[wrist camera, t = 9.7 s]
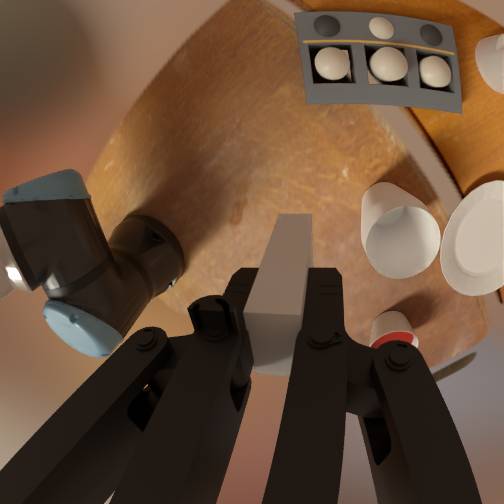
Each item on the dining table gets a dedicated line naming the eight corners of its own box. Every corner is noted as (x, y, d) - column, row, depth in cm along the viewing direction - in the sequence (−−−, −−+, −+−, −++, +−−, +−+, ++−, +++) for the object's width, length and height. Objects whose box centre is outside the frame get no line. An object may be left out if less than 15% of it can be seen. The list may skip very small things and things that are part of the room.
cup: (369, 162, 34) (389, 189, 24) (422, 190, 34) (455, 226, 24) (343, 218, 39) (349, 262, 29) (394, 241, 39) (413, 290, 29)
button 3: (414, 85, 27) (424, 84, 24) (411, 57, 25) (420, 53, 22) (440, 89, 26) (452, 89, 23) (438, 61, 24) (449, 58, 21)
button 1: (316, 81, 30) (317, 79, 27) (313, 53, 28) (312, 47, 25) (348, 81, 29) (351, 79, 26) (344, 52, 27) (347, 47, 24)
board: (307, 104, 32) (306, 104, 29) (296, 21, 27) (293, 12, 23) (449, 111, 27) (462, 114, 24) (440, 31, 22) (452, 25, 18)
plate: (486, 301, 40) (490, 308, 38) (413, 263, 40) (416, 271, 38) (542, 213, 28) (548, 219, 26) (475, 150, 29) (482, 154, 27)
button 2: (369, 81, 27) (375, 78, 24) (366, 51, 25) (371, 45, 22) (400, 83, 26) (409, 81, 23) (397, 53, 24) (405, 48, 21)
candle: (375, 345, 50) (377, 370, 45) (358, 317, 48) (360, 343, 42) (416, 328, 46) (422, 353, 41) (404, 297, 43) (411, 323, 38)
